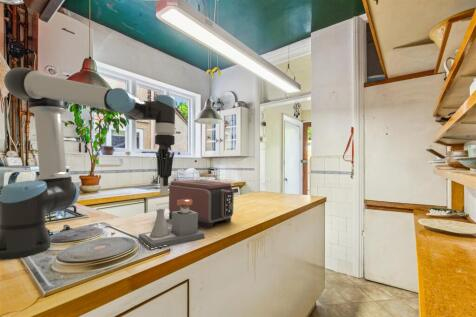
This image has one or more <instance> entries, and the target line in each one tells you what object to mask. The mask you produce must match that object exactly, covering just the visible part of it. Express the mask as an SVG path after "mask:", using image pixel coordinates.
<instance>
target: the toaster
mask: <svg viewBox="0 0 476 317" xmlns="http://www.w3.org/2000/svg"><path fill="white" fill-rule="evenodd" d="M234 194H235V192H234V189H233V188H232V183H230V182H221V181H213V180H211V181H210V180H201V179H200V180H198V179H189V180H188V179H187V180H173V181H171V182H170V185H168V211H169V212H168V215H169V216H168V219H169V220H172V212H175V211H181V206H178V205H177V200H179V199H192V200H193V205H191V206H189V210H191V211H194V212H197V213H198V227H199V228H203V229H211V228H212V227H213V226H214V224H215V223H216V222H223V221H224V223H231V222H232V217H233V214H234Z"/></svg>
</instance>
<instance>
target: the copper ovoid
mask: <svg viewBox="0 0 476 317" xmlns="http://www.w3.org/2000/svg"><path fill="white" fill-rule="evenodd" d="M177 205H178V206H181V213H180V214H189V206H191V205H193V200H192V199H179V200H177Z"/></svg>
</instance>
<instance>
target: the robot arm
mask: <svg viewBox="0 0 476 317" xmlns="http://www.w3.org/2000/svg"><path fill="white" fill-rule="evenodd" d="M3 78H4V79H3V83H4V86H5V88H6V90H7V91H8V92H9V93H10V95H12V96H13V97H15V98H16V99H19V100H23V101H25V102H28V104H27V105H28V110H29V111H30V112H31V113H32V114H33V116H34V123H35V135H36V137H35V138H36V148H37V160H38V172H39V173H38V174H39V175H38V176H37V177H36V178H34V180H25V181H18V182H12V183H8V184H6V185H4V186H3V187H2V188H1V190H0V260H10V259H19V258H24V257H28V256H33V255H36V254H40V253H41V252H44V251H46V250H49V249H50V247H51V246H50V245H52V244H51V243H52V240H51V237H50V236H51V235H50V234H49V232H48V229H47V227H46V215H48V214H51V213H52V214H53V213H55V212H61V211H64V210H67V209H68V208H70V207H72V206H74V204H75V203H77V201H78V199H79V196H80V189H79V187H78V185H76V183H75V182H74V181H73V180H72V179H73V178H72V175H71V174H70V173H68V172H67V163H66V152H65V151H66V150H65V139H64V129H63V126H64V125H63V115H64V114H65V113H66V109H67V108H68V106H69V104H70V103H71V104H76V105H81V106H86V107H91V108H96V109H101V110H106V111H111V112H115V113H119V114H123V116H124V117H125V119H126V120H129V121H154V122H155V123H154V134H156V135H154V145H158V152H156V153H155V157H156V165H157V167H156V168H157V176H158V177H159V180H160V181H159V182H160V183H159V195H161V196H162V195H169V178H170V177H172V171H173V170H172V169H173V162H174V157H175V152H174V151H172V146H174V145H175V143H176V142H175V141H176V140H175V139H176V138H175V130H176V125H175V124H176V122H175V121H176V100H175V97H173V96H171V95H168V94H158V95H156V96H155V100H142V99H140V98H139V97H138V96H136V95H134V94H133V93H131V92H130V91H129V90H127V89H124V88H122V87H115V88H110V87H104V86H101V85H94V84H90V83H85V82H80V81H76V80H70V79H65V78H61V77H60V78H59V77H55V76H50V75H46V74H45V73H44V72H43V71H40V70H36V69H31V68H28V67H22V66H21V67H19V66H17V67H14V68H12V69H9V70H8V71H7V72H6V74H5V76H4V77H3Z"/></svg>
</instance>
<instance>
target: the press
mask: <svg viewBox="0 0 476 317" xmlns="http://www.w3.org/2000/svg"><path fill="white" fill-rule="evenodd" d="M180 213H181V211H175V212H172V219H171V228H168V230H169V232H170V233H169V235H167V236H164V237H153V236H150V234H151V231H150V232H144V233H139V234H138V239H139V238H140V239H141V240H142V241H143V242H144V243H145V244H146V245H148V246H149V247H150V248H155V247H159V246H164V245H168V246H167V247H169V246H174V245H178V244H183V243H187V242H192V241H196V240H200V239H201V240H202V239H205V233H204V232H203V231H201V230H199V228H198V227H199V226H198V213H197V212H194V211H191V210H189V214H180ZM143 242H142V243H143ZM144 243H143V244H144ZM145 244H144V245H145ZM146 245H145V246H146ZM149 247H148V248H149ZM150 248H149V249H150Z"/></svg>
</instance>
